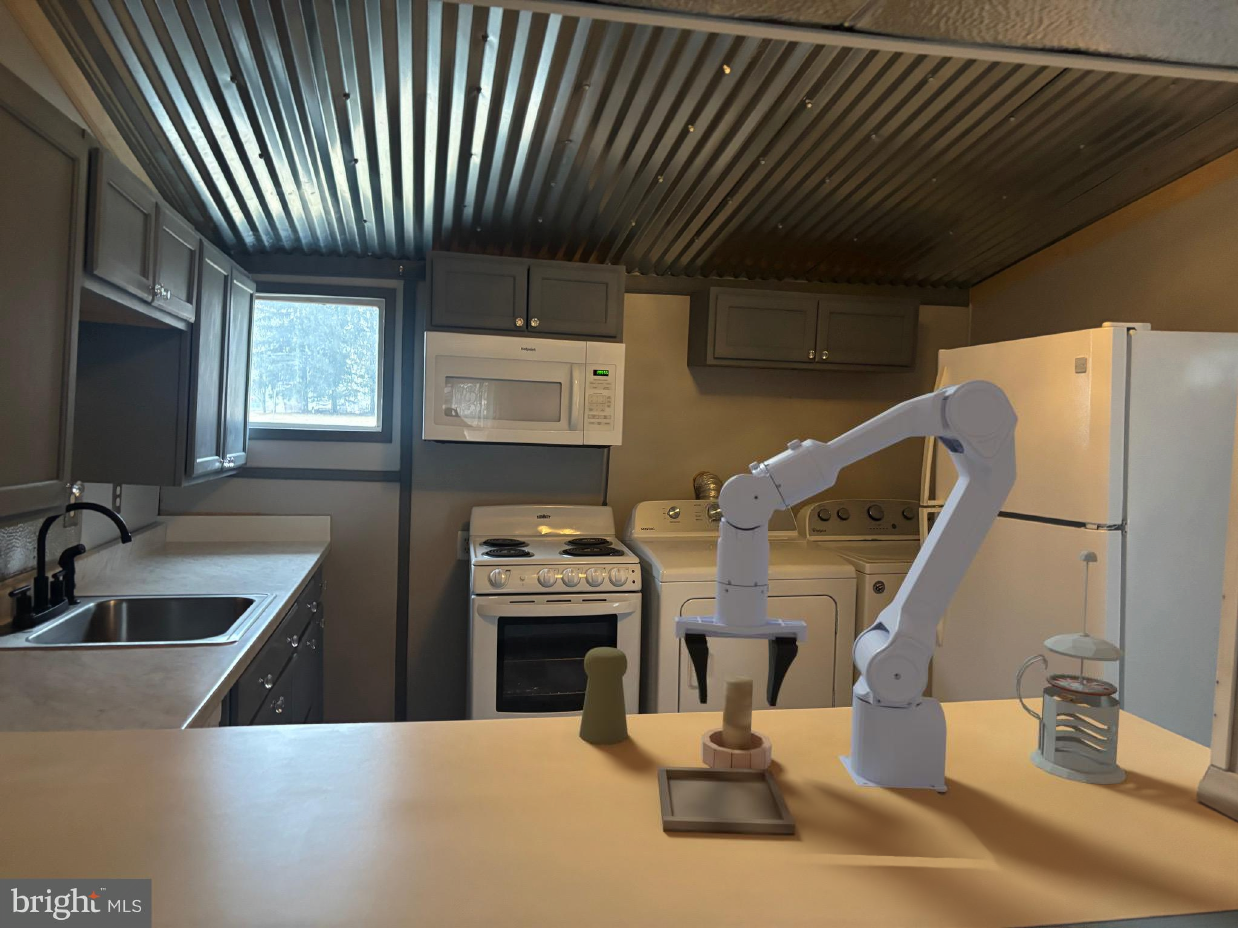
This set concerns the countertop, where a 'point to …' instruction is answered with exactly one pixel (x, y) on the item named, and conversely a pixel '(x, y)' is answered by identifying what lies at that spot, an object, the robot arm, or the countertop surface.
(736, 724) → the dowel pin
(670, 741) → the countertop surface
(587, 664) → the olive green pawn
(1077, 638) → the french press
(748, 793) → the walnut tray
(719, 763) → the pink round piece
